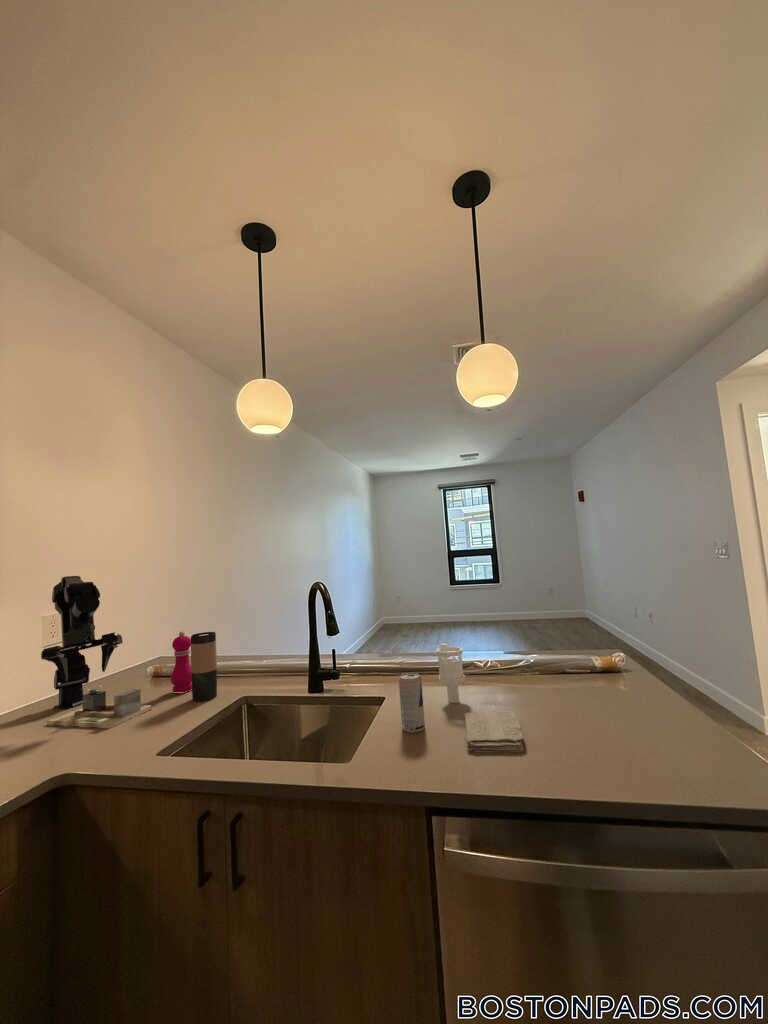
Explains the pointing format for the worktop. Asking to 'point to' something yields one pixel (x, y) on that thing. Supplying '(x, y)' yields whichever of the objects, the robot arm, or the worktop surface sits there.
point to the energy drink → (411, 702)
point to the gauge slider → (93, 701)
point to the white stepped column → (450, 670)
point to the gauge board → (105, 712)
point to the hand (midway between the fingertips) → (85, 676)
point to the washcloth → (493, 732)
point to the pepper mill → (181, 664)
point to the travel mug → (203, 666)
